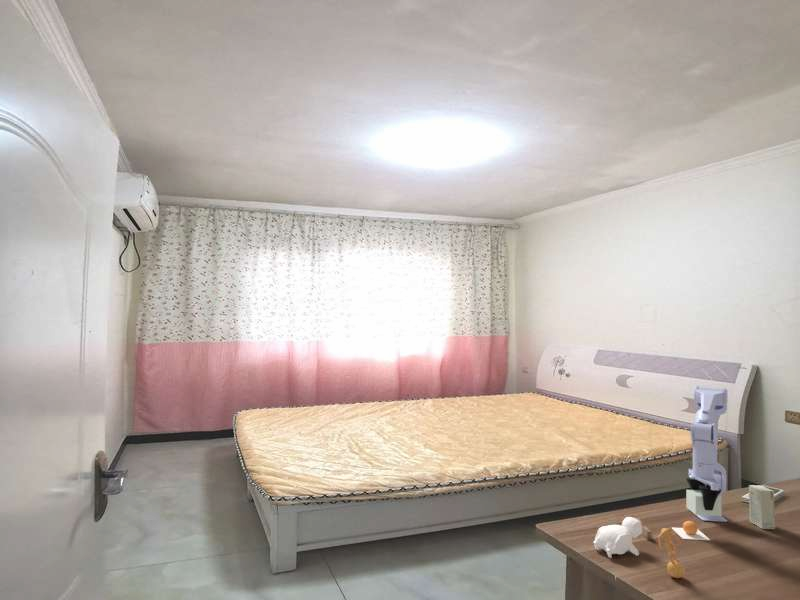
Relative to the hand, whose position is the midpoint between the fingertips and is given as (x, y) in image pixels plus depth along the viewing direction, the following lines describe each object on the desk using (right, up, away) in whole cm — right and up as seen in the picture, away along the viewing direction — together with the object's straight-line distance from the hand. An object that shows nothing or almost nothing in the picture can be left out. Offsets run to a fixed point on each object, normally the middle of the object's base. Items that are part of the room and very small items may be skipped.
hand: (703, 505), depth 157 cm
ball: (-4, -7, 0) cm, 8 cm away
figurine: (-23, -8, -25) cm, 35 cm away
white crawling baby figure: (-31, -9, -11) cm, 34 cm away
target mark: (-4, -9, 0) cm, 10 cm away
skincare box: (+24, -10, +8) cm, 27 cm away
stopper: (-18, -9, +2) cm, 20 cm away
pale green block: (0, -2, 0) cm, 2 cm away
